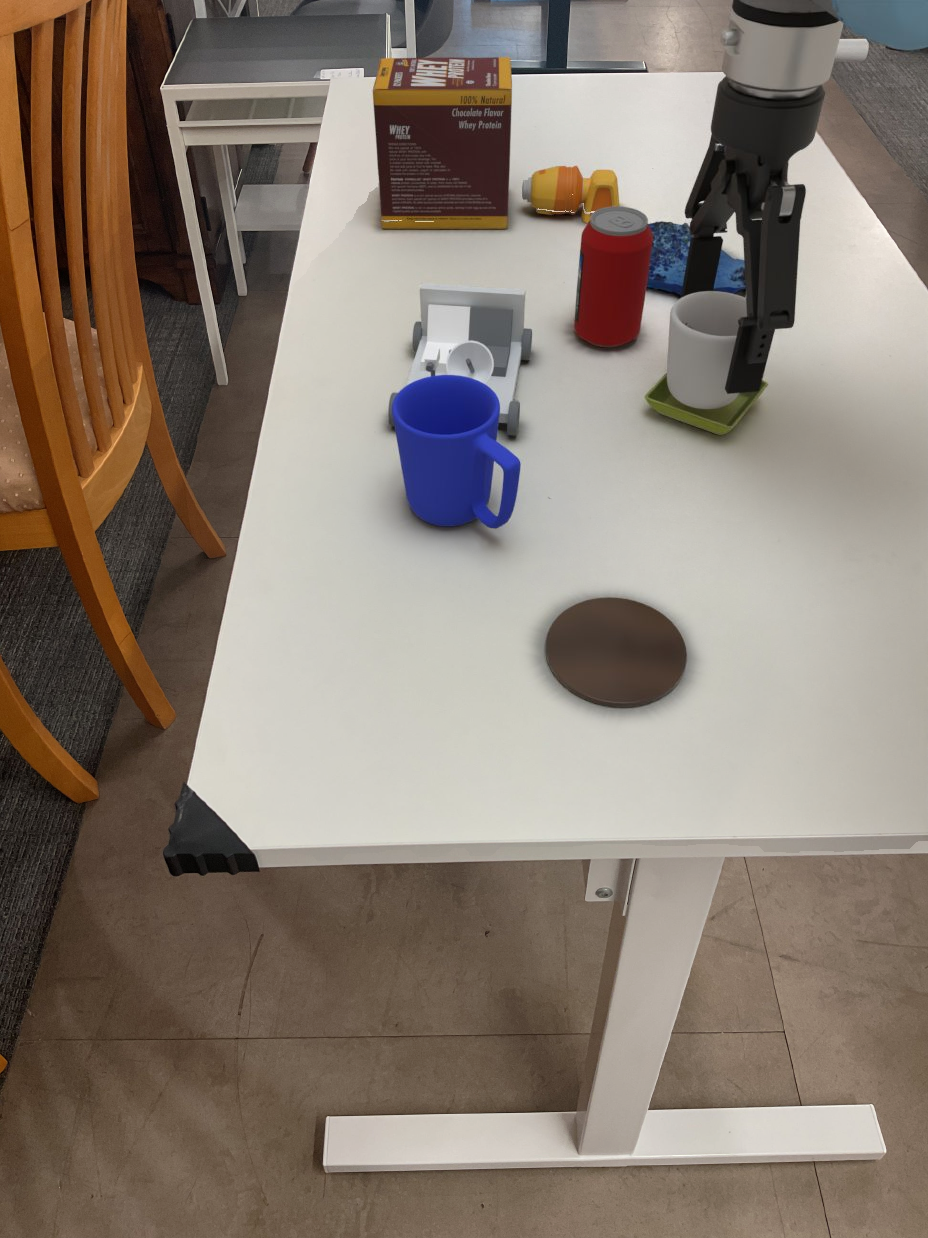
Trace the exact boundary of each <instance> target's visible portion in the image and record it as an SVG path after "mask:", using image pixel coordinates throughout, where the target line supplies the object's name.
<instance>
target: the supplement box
mask: <svg viewBox="0 0 928 1238" xmlns="http://www.w3.org/2000/svg"><path fill="white" fill-rule="evenodd" d="M377 68H378V69H377V72H376V76H375V80H374V83H373V87H372V100H373V101H372V102H373V103H372V104H373V116H374V118H373V119H374V133H375V144H376V147H375V148H376V163H377V175H378V189H379V203H380V225H381V229H389V230H392V229H393V230H394V229H395V230H396V229H398V230H399V229H400V230H404V229H405V230H406V229H407V230H408V229H409V230H413V229H414V230H416V229H417V230H454V229H455V230H505V229H508V228H509V227H508V226H509V225H508V223H509V222H508V221H509V195H510V194H509V193H510V169H511V167H510V166H511V143H512V141H511V138H512V137H511V135H512V107H513V106H512V104H513V78H512V62H511V57H510V56H496V57H449V56H448V57H383V58H381V59H379V62H378V67H377ZM381 219H382V220H398V221H389V222H384V221H381ZM399 220H402V221H399ZM415 221H434V222H415Z"/></svg>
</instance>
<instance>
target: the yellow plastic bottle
mask: <svg viewBox="0 0 928 1238" xmlns="http://www.w3.org/2000/svg"><path fill="white" fill-rule="evenodd" d="M572 194H573V195H572ZM521 195H522V196H521V197H522V199H523V200H526V202H527V203H530V206H531V207H532V206H533V207H534V208H533V207H532V208H533V209H535V208H537V209H538V208H539V209H547V210H554V211H565V210H566V211H569V212H566V211H565V212H552V211H546V210H537V209H535V210H536V213H537V214H543V215H549V216H553V215H564V214H569V215H572V216H573V215H574V216H575V214H577V211H578V210H579V208H580V207H579V206H581V205H582V204H583V203H584V209H585V211H586V212H591V211H597V210H599V209H601V208H605V207H613V206H619V205H620V194H619V183H618V177H617V175H616V173H615V171H614V170H613V169H596V170H594V171H593V172H592V174H590V177H583V175H582V173H581V171H580V168H579V166H578V165H573V166H567V165H557V166H551V167H547V168H544V169H539V170H536V171H534V172H533V174H531V177H528V178H527V179H524V180H523V181H522V188H521ZM577 209H578V210H577ZM571 210H572V211H571ZM576 210H577V211H576ZM570 211H571V212H575V211H576V212H575V213H571V212H570ZM592 214H593V213H590V214H585V213H584V210H583V205H582V207H581V221H582V222H583V223H585V224H588V222H589V221H590V218H591V215H592Z"/></svg>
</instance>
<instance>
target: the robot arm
mask: <svg viewBox="0 0 928 1238" xmlns="http://www.w3.org/2000/svg"><path fill="white" fill-rule="evenodd" d="M844 26H845V27H846V28H847V29H850V30H851V32H852V33H854V34H855V35H856V36H862V37H863V38H864V39H865V40H867V41H869V42H873V43H876V44H881V45H883V46H885V47H888V48H891V49H894V50H900V51H913V50H921V49H925V48H928V0H732V4H731V11H730V17H729V24H728V29H724V30H722V32H721V33H720V44H721V45H722V46H725V47H724V52H723V58H722V64H721V71H722V73H723V74H724V77H723V78H722V79H721V80H720V81H719V82H718V84H717V88H716V94H715V98H714V99H715V100H714V104H713V105H714V106H713V111H712V116H711V117H712V118H711V122H710V133H711V134H710V138H709V139H710V140H709V144H708V147H707V150H706V153H705V156H704V157H703V161H702V163H701V165H700V167H699V171H698V172H697V176H696V178H695V181H694V183H693V187H692V188H691V191H690V193H689V197H688V198H687V201H686V205H685V207H684V217H685V219H691V220H690V222H689V230H690V234H691V235H693V238H691V240H690V246H689V252H688V257H687V263H686V269H685V275H684V281H683V287H682V292H681V295H680V298H682V297H684V296H686V295H689V294H692V293H697V292H704V291H713V290H714V284H715V279H716V274H717V269H718V264H719V259H720V254H721V250H723V244H724V238H723V237H722V236H721V235H715V234H723V233H724V234H725V233H726V234H727V233H728V224H727V223H728V221H729V220H730V219H731V218H732V216H733V215H734V214H735V230H736V232H737V234H738V235H740V236H741V237H742V243H743V245H742V246H743V260H744V266H745V286H746V289H745V298H746V307H747V317H741V319H739V320H738V324H739V328H738V332H737V337H736V341H735V345H734V350H733V354H732V359H731V363H730V367H729V372H728V376H727V381H726V385H725V390H726V392H727V394H732V393H745V392H757V391H759V390H760V386H761V382H762V380H763V378H764V374H765V370H766V367H767V362H768V358H769V355H770V351H771V348H772V343H773V339H774V335H775V332H776V330H783V329H792V328H793V327H794V325H795V320H796V319H795V318H796V302H797V301H796V300H797V287H798V286H797V285H798V267H799V252H800V236H801V220H802V219H801V218H802V215H803V210H804V204H805V199H806V193H807V189H806V185H805V184H804V183H795V184H790V183H788V182H789V181H788V173H789V165H790V163H789V162H790V159H791V158H792V157H793V156H794V155H795V154H797V153H798V152H800V151H803V150H805V149H807V147H809V146H810V145H811V144H812V142H813V141H814V139H815V138H816V137H815V136H816V132H817V129H818V124H819V121H820V116H821V113H822V110H823V109H822V108H823V106H824V105H823V104H824V102H825V97H826V91H825V89H824V87H823V85H824V84H825V83H827V82H828V81H829V80H830V77H831V75H832V70H833V67H834V64H835V59H836V55H837V52H838V47H839V44H840V39H841V35H842V31H843V27H844Z"/></svg>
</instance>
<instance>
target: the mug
mask: <svg viewBox="0 0 928 1238" xmlns="http://www.w3.org/2000/svg"><path fill="white" fill-rule="evenodd" d="M397 393H398V394H397V395H396V397H395V398H394V401H393V404H392V414H393V420H394V426H393V427H394V432H395V437H396V443H397V449H398V456H399V461H400V467H401V474H402V479H403V483H404V484H403V485H404V491H405V495H406V500H407V503H408V505H409V507H410V509H411V511H412V512H413V513H414V514H415V515H416V516H417V517H418V518H419V519H421V520H422V521H424V522H426V523H428V524H431V525H434V526H437V527H438V526H439V527H458V526H461V525H462V526H463V525H465V524H467V523H470V522H472V521H473V520H475V519H477V520H478V521H479V522H480V523H481V524H483V525H484V526H486V527H487V528H489V529H497V528H498V529H499V528H500V527H502V526H504V525H505V524H507V523H508V522H509V520H510V519H511V517H512V515H513V512H514V509H515V505H516V503H517V502H516V501H517V497H518V491H519V485H520V484H519V483H520V475H521V464H522V463H521V460H520V458H518V456H516V455H515V454H514V453H513V452H512V451H511V450H509V449H508V448H507V447H505V446H504V445H503V444H501V443H500V442H498V441H497V439H498V431H499V424H500V423H499V414H500V402H499V399H498V397H497V395H496V394H495V392H494V391H493V390H492V389H491V388H490V387H488V386H487V385H485V384H484V383H482V382H480V381H478V380H475V379H472V378H469V377H465V376H458V375H437V376H430V377H426V378H422V379H419V380H417V381H414V382H412V383H410V384H408V385H407V386H406V385H405V386H404V387H403V388H402V389H400V390H399V391H398V392H397ZM495 463H496V464H497V465H498V466H499V467H500V468H501V469H502V472H503V473H502V474H503V475H502V477H503V478H502V487H501V488H502V489H501V498H500V506H499V509H498V510H499V511H498V513H497V515H496V514H495V513H493V511H491V510H490V509H489V507H488V503H489V500H490V497H491V491H492V483H493V476H494V466H495Z"/></svg>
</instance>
